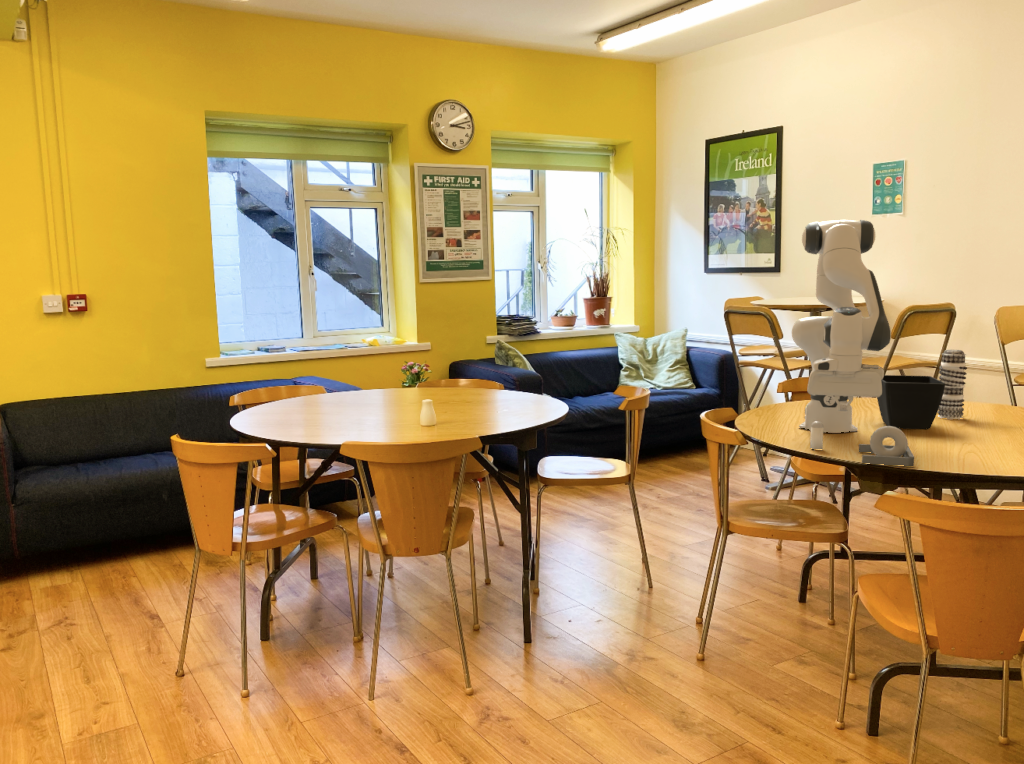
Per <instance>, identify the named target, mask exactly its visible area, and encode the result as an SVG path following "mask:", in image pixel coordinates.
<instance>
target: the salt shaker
mask: <svg viewBox="0 0 1024 764" xmlns="http://www.w3.org/2000/svg"><path fill="white" fill-rule="evenodd" d="M809 439H810V441H809V444H810V446H809V449H810V448H812V449H823V445H824V432H823V424H822V423H821V422H819V421H815V422H813V423H812V424H811V430H810V438H809ZM823 450H824V449H823Z"/></svg>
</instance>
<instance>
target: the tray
mask: <svg viewBox="0 0 1024 764" xmlns="http://www.w3.org/2000/svg"><path fill="white" fill-rule="evenodd" d="M883 446H884V447H885V448H887V449H891V448H893V447H894V446H895V445H889V444H883ZM859 452H871V453H870V454H862V455H861V464H862V463H870V464H884V465H904V466H915V456H914V454H913V452H912V450H911V448H910V447H909V445H908V446H907V450H906V452H905V453H904V455H902V456H901V457H893V456H876V455H875V454H873V451H872V449H871V447H870V443H867V444H865V443H859V444H858V453H859ZM871 454H873V455H871ZM884 465H883V466H884Z"/></svg>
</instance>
